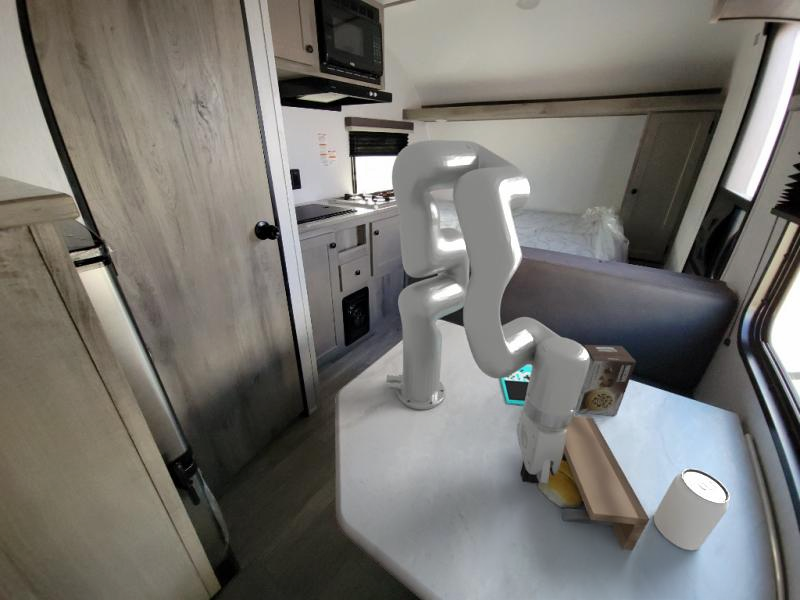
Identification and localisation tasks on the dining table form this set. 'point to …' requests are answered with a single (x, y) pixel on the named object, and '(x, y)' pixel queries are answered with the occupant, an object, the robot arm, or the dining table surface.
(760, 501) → the dining table surface
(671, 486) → the can
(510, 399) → the handheld game console
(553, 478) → the bread roll
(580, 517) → the overhang shelf
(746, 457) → the dining table surface
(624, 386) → the coffee box
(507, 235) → the robot arm
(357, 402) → the dining table surface
